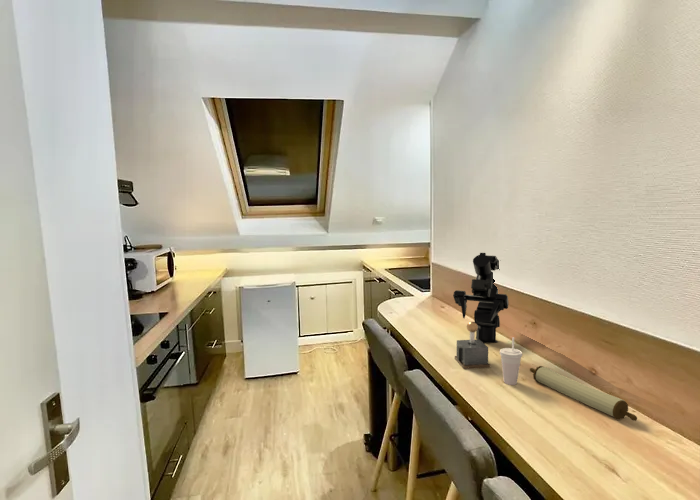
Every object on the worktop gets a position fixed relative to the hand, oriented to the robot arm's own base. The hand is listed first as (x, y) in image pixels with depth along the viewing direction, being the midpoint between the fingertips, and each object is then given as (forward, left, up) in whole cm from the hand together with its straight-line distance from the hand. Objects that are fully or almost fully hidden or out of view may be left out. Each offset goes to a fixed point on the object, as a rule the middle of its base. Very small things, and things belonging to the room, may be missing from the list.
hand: (476, 319), depth 143 cm
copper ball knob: (+4, +6, -8) cm, 11 cm away
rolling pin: (-15, +34, -14) cm, 40 cm away
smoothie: (-2, +22, -14) cm, 26 cm away
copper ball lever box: (+4, +6, -13) cm, 15 cm away
